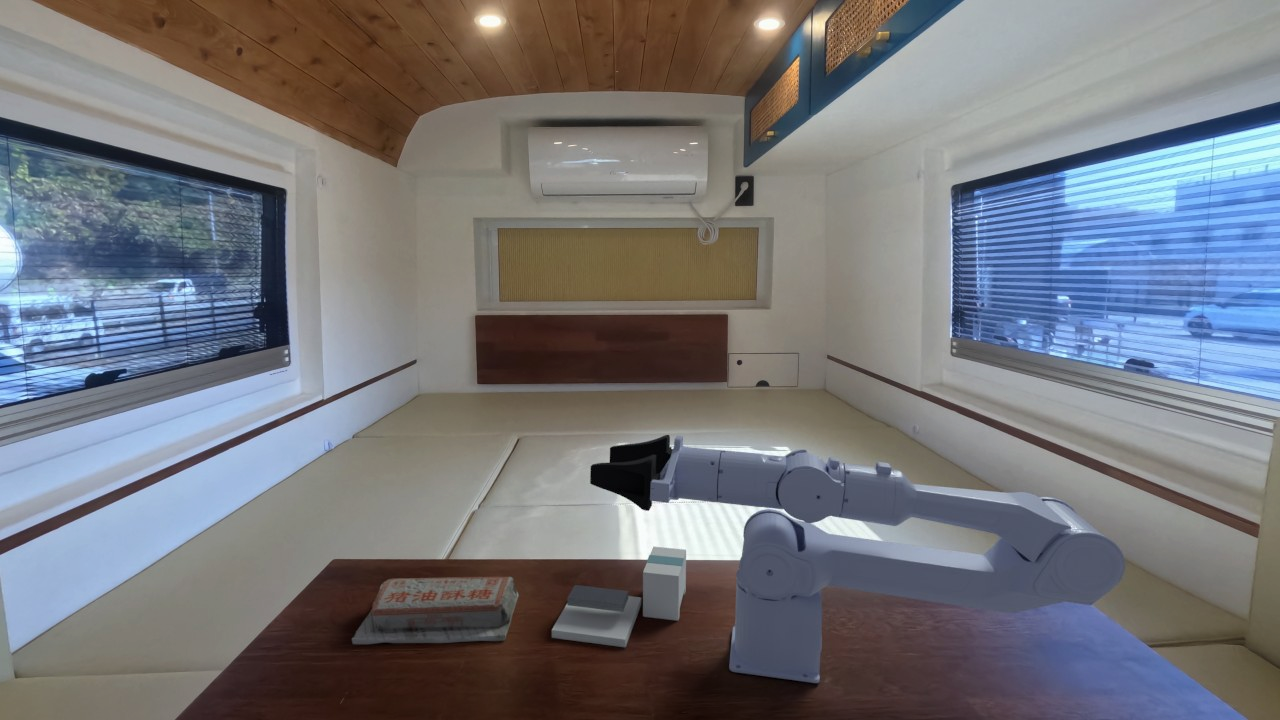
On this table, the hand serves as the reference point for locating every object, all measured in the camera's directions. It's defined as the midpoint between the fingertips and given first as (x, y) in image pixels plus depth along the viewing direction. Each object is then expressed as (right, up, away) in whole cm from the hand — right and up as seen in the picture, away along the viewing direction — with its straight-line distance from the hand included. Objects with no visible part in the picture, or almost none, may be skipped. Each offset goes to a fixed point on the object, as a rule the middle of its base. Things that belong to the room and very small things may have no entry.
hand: (601, 464), depth 68 cm
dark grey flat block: (-1, -18, +5) cm, 19 cm away
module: (+8, -20, +9) cm, 23 cm away
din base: (-1, -20, +6) cm, 21 cm away
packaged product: (-21, -21, +6) cm, 30 cm away
